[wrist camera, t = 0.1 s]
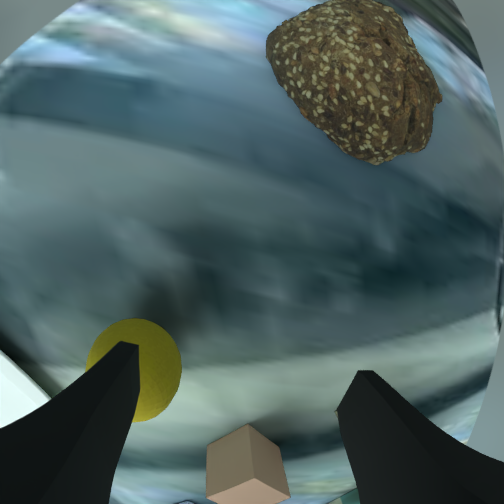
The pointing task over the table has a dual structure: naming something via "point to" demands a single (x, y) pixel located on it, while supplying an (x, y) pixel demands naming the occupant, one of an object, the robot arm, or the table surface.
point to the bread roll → (356, 77)
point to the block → (245, 469)
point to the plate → (17, 392)
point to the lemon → (145, 362)
